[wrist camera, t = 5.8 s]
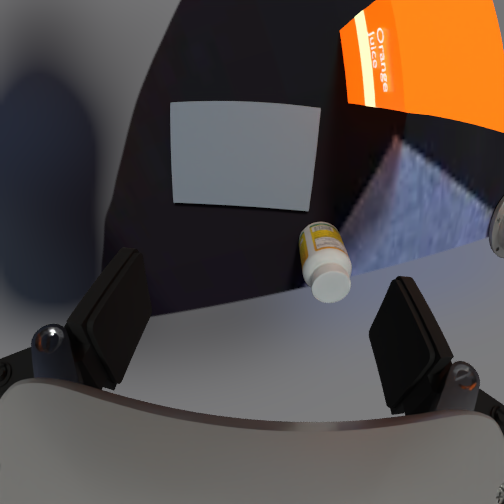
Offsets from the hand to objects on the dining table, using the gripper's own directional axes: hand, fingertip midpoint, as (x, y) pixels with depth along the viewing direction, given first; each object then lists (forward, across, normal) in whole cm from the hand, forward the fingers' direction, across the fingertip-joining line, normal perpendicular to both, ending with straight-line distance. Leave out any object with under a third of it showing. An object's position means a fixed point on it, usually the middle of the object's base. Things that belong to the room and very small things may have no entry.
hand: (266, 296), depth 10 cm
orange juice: (+23, -10, -12) cm, 28 cm away
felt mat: (+23, +3, 0) cm, 23 cm away
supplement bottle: (+23, -7, +10) cm, 26 cm away
